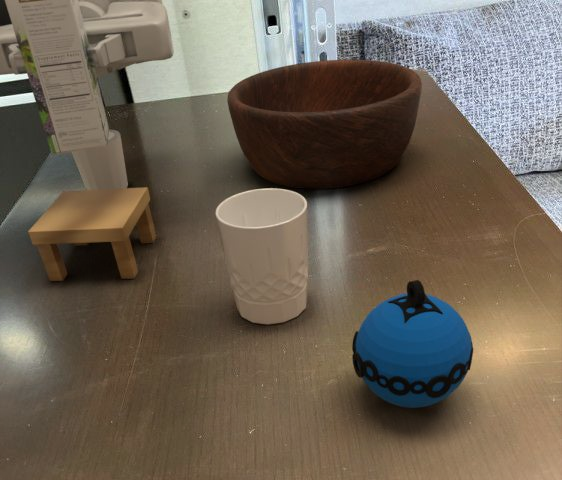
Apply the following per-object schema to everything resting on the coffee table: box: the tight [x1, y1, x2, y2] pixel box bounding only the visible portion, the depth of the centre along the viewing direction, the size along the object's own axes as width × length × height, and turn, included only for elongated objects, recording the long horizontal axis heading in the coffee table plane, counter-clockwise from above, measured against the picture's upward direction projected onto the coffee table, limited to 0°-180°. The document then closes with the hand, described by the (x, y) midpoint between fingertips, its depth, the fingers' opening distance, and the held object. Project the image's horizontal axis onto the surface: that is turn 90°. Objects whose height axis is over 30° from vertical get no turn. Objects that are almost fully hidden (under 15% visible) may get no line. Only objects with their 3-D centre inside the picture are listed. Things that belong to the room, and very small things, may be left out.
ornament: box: [351, 279, 474, 409], centre depth 45 cm, size 9×9×10 cm
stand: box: [27, 186, 157, 282], centre depth 68 cm, size 10×10×6 cm
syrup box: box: [5, 0, 110, 155], centre depth 60 cm, size 6×6×14 cm
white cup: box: [215, 187, 309, 325], centre depth 56 cm, size 8×8×10 cm
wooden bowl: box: [226, 59, 423, 190], centre depth 83 cm, size 25×25×10 cm
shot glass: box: [71, 129, 129, 190], centre depth 84 cm, size 7×7×7 cm
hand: (56, 61), depth 59 cm, fingers closed on syrup box, 6 cm apart
